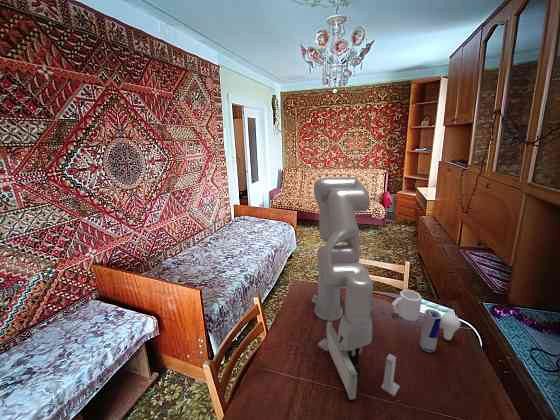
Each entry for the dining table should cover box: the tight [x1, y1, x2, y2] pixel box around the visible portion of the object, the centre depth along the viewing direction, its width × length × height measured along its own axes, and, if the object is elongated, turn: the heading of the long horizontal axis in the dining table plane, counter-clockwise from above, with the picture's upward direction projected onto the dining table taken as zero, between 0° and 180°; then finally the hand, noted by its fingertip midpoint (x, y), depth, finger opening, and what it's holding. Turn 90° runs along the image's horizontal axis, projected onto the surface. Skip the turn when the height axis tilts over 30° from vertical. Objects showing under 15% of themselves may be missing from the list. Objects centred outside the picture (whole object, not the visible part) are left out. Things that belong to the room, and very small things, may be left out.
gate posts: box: [317, 321, 401, 397], centre depth 87 cm, size 28×4×11 cm, turn 45°
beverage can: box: [419, 308, 442, 353], centre depth 93 cm, size 5×5×15 cm
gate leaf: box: [328, 326, 358, 400], centre depth 84 cm, size 20×2×9 cm, turn 9°
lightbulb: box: [440, 312, 461, 341], centre depth 97 cm, size 6×6×11 cm
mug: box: [391, 289, 423, 322], centre depth 111 cm, size 12×9×10 cm
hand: (353, 362), depth 83 cm, fingers closed
